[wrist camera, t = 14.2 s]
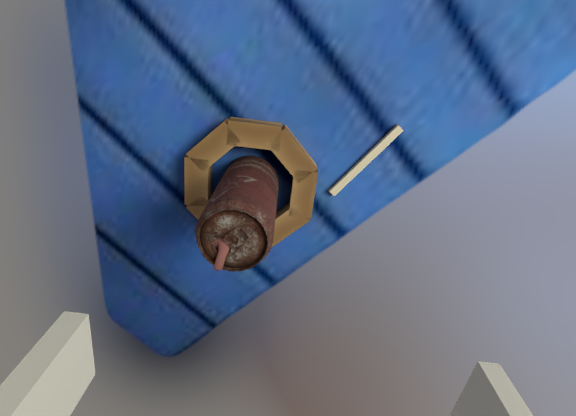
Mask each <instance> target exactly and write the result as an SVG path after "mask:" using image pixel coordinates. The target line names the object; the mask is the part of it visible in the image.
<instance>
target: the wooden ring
mask: <svg viewBox="0 0 576 416" xmlns="http://www.w3.org/2000/svg"><path fill="white" fill-rule="evenodd" d="M234 146H240V147H248V148H257V149H265V150H271V151H272V152H273V153H274V154H275V155H276V157H277V158H278V159H279V160H280V162H281V163H282V164H283V165H284V166H285V168H286V169H287V170H288V171H289V172H290V174H291V175H292V176H293V180H292V187H291V195H290V202H289V203H288V204H287V205H285V206H284V207H282V208H281V209H280V210H278V211H277V212H276V219H275V228H274V238H273V243H272V246H271V247H273V246H274V245H276V244H277V243H279V242H280V241H281V240H283V239H284V238H286V237H287V236H289V235H290V234H291V233H293V232H294V231H296V230H297V229H299V228H300V227H302V226H303V225H304V224H306V223H307V222H309V218H310V219H311V215H312V208H313V202H314V196H315V189H316V183H317V177H318V169H317V166H316V163H315V162H314V160H313V159H312V158H311V157H310V155H309V154H308V153H307V152H306V150H305V149H304V148H303V146H302V145H301V144H300V143H299V141H298V140H297V139H296V138H295V136H294V135H293V134H292V132H291V131H290V130H289V129H288V127H287V126H286V125H285V126H283V127H282V123H278V122H269V121H261V120H253V119H244V118H236V117H230V118H229V119H228V118H227V119H226V120H225V121H224V122H222V123H221V124H220V125H219V126H218V127H216V128H215V129H214V130H213V131H212V132H211V133H209V134H208V135H207V136H206V137H205V138H204V139H202V140H201V141H200V142H199V143H198V144H197V145H195V146H194V147H193V148H192V149H191V150H190V151H189V152H188V153H186V156H185V157H184V174H185V205H187V207H186V208H187V209H188V210H189V211H190V212H191V213H192V214H193V215H194V216H195V217H196V218H197V219H199V217H200V216H201V214H202V212H203V210H204V208H205V207H206V205H207V203H208V201H209V200H210V198H211V196H212V194H211V193H212V164H213V163H215V162H216V161H217V160H218V159H220V158H221V157H222V156H223V155H224V154H226V153H227V152H228V151H229V150H230V149H232V148H233V147H234Z"/></svg>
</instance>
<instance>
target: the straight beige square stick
mask: <svg viewBox="0 0 576 416" xmlns="http://www.w3.org/2000/svg"><path fill="white" fill-rule="evenodd" d="M402 132H403V130H402V128H401V127H400V126H399V125H396V126H395V127H394V128H393V129H391V130H390V131H389V132H388V133H387V134H386V135H385V136H384V137H383V138H382V139H381V140H380V141H379V142H378V143H377V144H376V145H375V146H374V147H373V148H372V149H371V150H370V151H369V152H368V153H367V154H366V155H364V156H363V157H362V158H361V159H360V160H359V161H358V162H357V163H356V164H355V165H354V166H353V167H352V168H351V169H350V170H349V171H348V172H347V173H346V174H345V175H344V176H343V177H342V178H341V179H340V180H339V181H337V182H336V183H335V184H334V185H333V186H332V187H331V188H330V189H329V192H330V193H331V194H332V195H334V196H335V195H336V194H337V193H338V192H339V191H340V190H341V189H343V188H344V187H345V186H346V185H347V184H348V183H349V182H350V181H351V180H352V179H353V178H354V177H355V176H356V175H357V174H358V173H359V172H360V171H362V170H363V169H364V168H365V167H366V166H367V165H368V164H369V163H370V162H371V161H372V160H373V159H374V158H375V157H376V156H377V155H378V154H379V153H380V152H382V151H383V150H384V149H385V148H386V147H387V146H388V145H389V144H390V143H391V142H392V141H393V140H394V139H395V138H396V137H397V136H398V135H399V134H401V133H402Z"/></svg>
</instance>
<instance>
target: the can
mask: <svg viewBox="0 0 576 416" xmlns="http://www.w3.org/2000/svg"><path fill="white" fill-rule="evenodd" d="M278 189H279V178H278V176H277V173H276V170H275V169H274V168H273V166H272V165H271V164H270V163H269V162H267V161H266V160H264V159H262V158H259V157H256V156H244V157H241V158H238V159H236V160H235V161H234V162H232V163H231V164H230V165H229V167H228V168H227V170H226V171H225V173H224V175H223V177H222V178H221V180H220V182H219V184H218V186H217V187H216V189H215V191H214V193H213V194H212V196H211V198H210V200H209V201H208V203H207V205H206V207H205V208H204V210H203V212H202V214H201V216H200V217H199V219H198V222H197V226H196V230H195V231H196V239H197V243H198V247H199V249H200V251H201V253H202V255H203V256H204V257H205V258H206V259H207V260H208V261H209V262H210V263H211V264H213V265H214V269H215V270H218V271H220V270H222V269H223V270H227V271H243V270H247V269H250V268H252V267H254V266H255V265H257V264H258V263H259V262H260V261H262V260H263V259H264V258H265V257H266V255H267V254H268V253H269V252H270V249H271V246H272V243H273V238H274V228H275V219H276V209H277V199H278Z"/></svg>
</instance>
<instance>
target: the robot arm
mask: <svg viewBox="0 0 576 416" xmlns="http://www.w3.org/2000/svg"><path fill="white" fill-rule="evenodd" d="M94 375H95V367H94V357H93V350H92V340H91V331H90V323H89V315H88V314H83V313H75V312H67V311H64V312H63V313H62V314H61V316H60V317H59V318H58V319H57V320H56V322H55V323H54V324H53V325H52V326H51V327H50V328H49V330H48V331H47V332H46V333H45V334H44V335H43V337H42V338H41V339H40V340H39V341H38V342H37V343H36V345H35V346H34V347H33V348H32V349H31V351H30V352H29V353H28V354H27V355H26V356H25V358H24V359H23V360H22V361H21V362H20V363H19V364H18V366H17V367H16V368H15V369H14V370H13V371H12V373H11V374H10V375H9V376H8V378H6V380H5V381H4V382H3V383H2V384H1V385H0V416H70V415H71V413H72V412H73V410H74V408H75V407H76V405H77V403H78V402H79V400H80V398H81V397H82V395H83V393H84V392H85V390H86V389H87V387H88V385H89V384H90V382H91V380H92V379H93V377H94ZM451 416H533V415H532V413H531V412H530V410H529V409H528V407H527V406H526V404H525V403H524V401H523V399H522V398H521V397H520V395H519V393H518V392H517V391H516V389H515V387H514V386H513V384H512V383H511V381H510V380H509V378H508V376H507V375H506V374H505V372H504V370H503V369H502V367H501V366H500V364H496V363H487V362H477V364H476V366H475V368H474V370H473V372H472V374H471V376H470V378H469V379H468V381H467V383H466V385H465V387H464V389H463V391H462V393H461V395H460V397H459V399H458V401H457V402H456V405H455V406H454V408H453V410H452V412H451Z"/></svg>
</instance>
